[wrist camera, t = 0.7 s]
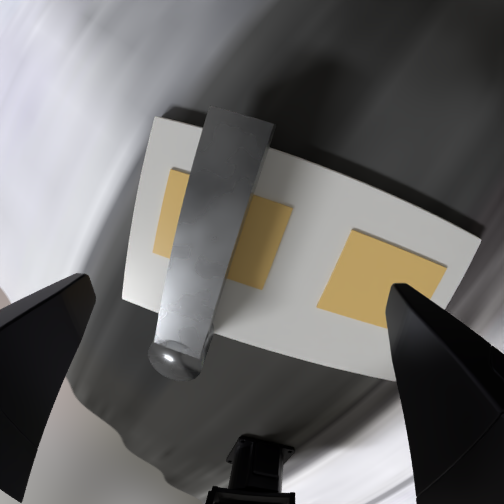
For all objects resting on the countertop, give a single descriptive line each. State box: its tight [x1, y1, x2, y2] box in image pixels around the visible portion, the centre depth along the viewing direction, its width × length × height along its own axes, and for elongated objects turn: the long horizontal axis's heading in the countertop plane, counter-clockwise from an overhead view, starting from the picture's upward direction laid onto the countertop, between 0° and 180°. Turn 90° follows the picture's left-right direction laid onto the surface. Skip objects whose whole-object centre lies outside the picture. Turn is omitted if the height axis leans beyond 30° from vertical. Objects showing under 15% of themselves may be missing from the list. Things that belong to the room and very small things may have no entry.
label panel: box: [122, 117, 481, 381], centre depth 21 cm, size 15×24×2 cm, turn 73°
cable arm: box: [148, 106, 277, 381], centre depth 18 cm, size 17×4×4 cm, turn 163°
